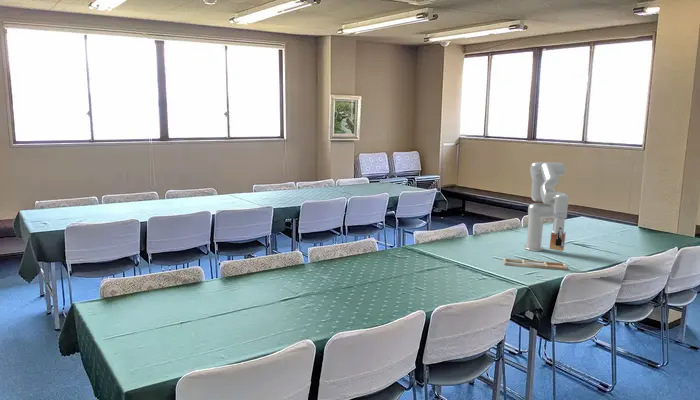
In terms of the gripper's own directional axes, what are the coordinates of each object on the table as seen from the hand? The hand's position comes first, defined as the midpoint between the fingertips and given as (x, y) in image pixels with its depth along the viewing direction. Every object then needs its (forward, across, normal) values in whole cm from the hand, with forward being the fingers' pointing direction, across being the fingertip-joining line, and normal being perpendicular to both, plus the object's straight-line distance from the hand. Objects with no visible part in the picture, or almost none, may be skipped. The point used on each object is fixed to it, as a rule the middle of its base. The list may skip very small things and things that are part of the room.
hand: (557, 244), depth 317 cm
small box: (+4, 0, 0) cm, 4 cm away
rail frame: (+14, 0, -12) cm, 19 cm away
